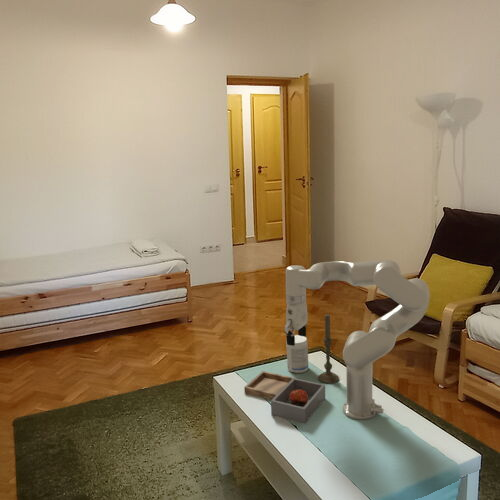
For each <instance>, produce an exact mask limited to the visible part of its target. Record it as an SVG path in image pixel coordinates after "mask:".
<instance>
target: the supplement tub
mask: <svg viewBox="0 0 500 500" xmlns="http://www.w3.org/2000/svg"><path fill="white" fill-rule="evenodd" d="M294 336H295V345H294V346H291V345H287V338H286V340H285V341H286V343H285V344H286V346H285V347H286V361H287V370H288V371H290V372H291V373H296V374H300V373H304V372H307V371H308V369H309V351H308V350H309V346H308V339H307V337H306V336H305V337H304V336H299V335H298V334H294Z"/></svg>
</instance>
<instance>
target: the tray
mask: <svg viewBox="0 0 500 500" xmlns="http://www.w3.org/2000/svg"><path fill="white" fill-rule="evenodd" d="M293 378H294V377H292V376H286V375H283V374H278V373H273V372H269V371H265V370H262V371H261V372H260V373H259V374H257V376H255V377H254V378H253V379H251V381H250V382H248V384H246V385H245V386H244V388H243V389H244V394H247V395H252V396H256V397H259V398H264V399H268V400H270V401H271V400H272V399H273V398H274V397H275V396H276V395H277V394H278V393H279V392H280V391H281V390H282V389H283V388H284V387H285V386H286V385H287V384H288V383H289V382H290V381H291V380H292V379H293Z"/></svg>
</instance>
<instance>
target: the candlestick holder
mask: <svg viewBox="0 0 500 500" xmlns="http://www.w3.org/2000/svg"><path fill="white" fill-rule="evenodd" d="M322 339H323V345H324V346H325V354H326V355H325V358H326V359H325V361H326V362H325V363H324V365H323V366H324V369H325V372H323V373H320V374H318V376H317V380H318V381H319V382H320V383H321V384H325V385H326V384H327V385H328V384H329V385H330V384H336V383H338V382H339V381H340V377H339V375H338V374H336V373H334V372H332V368H333V363H331V361H330V359H331V346H332V341H333V338H332V337H331V315H330V314H328V313H326V314H325V315H324V337H323V338H322Z"/></svg>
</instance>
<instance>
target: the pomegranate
mask: <svg viewBox="0 0 500 500" xmlns="http://www.w3.org/2000/svg"><path fill="white" fill-rule="evenodd" d="M288 401H290V404H292V405H296V406H300V407H304V406H305V405H306V404H307V402H308V401H309V396H308V395H307V393H306V392H305V391H303V390H301V387H300V388H299V390H294V391H292V392H291V393H290V397H289V400H288Z"/></svg>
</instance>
